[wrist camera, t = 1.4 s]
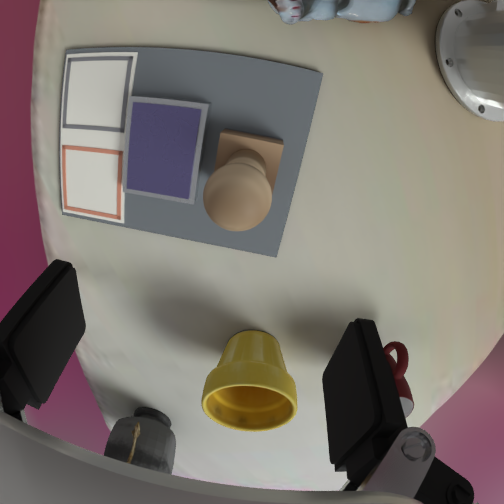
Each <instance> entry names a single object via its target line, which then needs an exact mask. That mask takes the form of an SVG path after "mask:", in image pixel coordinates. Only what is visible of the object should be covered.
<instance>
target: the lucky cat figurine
mask: <svg viewBox="0 0 504 504" xmlns="http://www.w3.org/2000/svg"><path fill="white" fill-rule="evenodd" d="M268 2H269V4H270V6H271V8H272V9H273V10H274V11H275V12H276V13H277V14H279V15H280V17H281V19H282V21H283V22H284V23H286V24H294V23H296V22H297V21H310V20H311V19H316V20H330V19H333V18H334V17H338V18H345V19H347V20H349V21H354V22H359V23H370V22H383V21H389V20H391V19H392V18H393V17H394V16H395V15H396V14H397V13H400V14H402V15H404V16H408V15H409V14H412V9H413V6H414V4H415V2H416V0H268Z"/></svg>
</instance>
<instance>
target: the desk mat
mask: <svg viewBox="0 0 504 504" xmlns="http://www.w3.org/2000/svg"><path fill="white" fill-rule="evenodd" d="M100 52H138V55H137V62H136V68H135V75H134V82H133V90H132V96H133V95H144V96H156V97H167V98H176V99H185V100H193V101H200V102H208V103H212V105H211V111H210V116H209V122H208V128H207V135H206V141H205V148H204V154H203V161H202V168H201V175H200V182H199V189H198V197H197V200H196V202H195V204H194V205H193V204H188V203H182V202H177V201H171V200H166V199H160V198H154V197H149V196H143V195H137V194H131V193H125V200H124V224H123V223H118V222H113V221H108V220H103V219H98V218H92V217H87V216H82V215H77V214H72V213H67V212H63V205H62V189H61V111H62V96H63V84H64V74H65V65H66V57H67V54H79V53H100ZM322 76H323V73H320V72H316V71H312V70H308V69H304V68H300V67H296V66H291V65H287V64H282V63H277V62H272V61H267V60H262V59H256V58H250V57H244V56H238V55H231V54H224V53H216V52H207V51H198V50H187V49H173V48H153V47H103V48H83V49H70V50H66V56H65V63H64V72H63V82H62V94H61V109H60V137H59V161H60V190H61V205H62V215H67V216H72V217H77V218H82V219H87V220H92V221H97V222H102V223H107V224H112V225H117V226H122V227H127V228H132V229H137V230H142V231H147V232H152V233H157V234H162V235H167V236H172V237H177V238H182V239H187V240H192V241H197V242H202V243H207V244H212V245H217V246H222V247H227V248H232V249H237V250H242V251H247V252H252V253H257V254H262V255H267V256H272V257H277V253H278V250H279V246H280V242H281V239H282V235H283V231H284V227H285V224H286V220H287V216H288V212H289V209H290V205H291V201H292V197H293V193H294V189H295V186H296V182H297V178H298V174H299V170H300V166H301V162H302V158H303V154H304V150H305V146H306V142H307V138H308V134H309V130H310V126H311V122H312V118H313V114H314V110H315V106H316V102H317V98H318V93H319V89H320V85H321V81H322ZM225 128H227V129H233V130H239V131H244V132H249V133H254V134H259V135H264V136H269V137H274V138H279V139H283V142H284V147H283V151H282V156H281V160H280V164H279V168H278V173H277V177H276V181H275V186H274V190H273V194H272V203H271V207H270V210H269V212H268V214H267V215H266V217H265V218H264V220H263V221H262V222H261V223H259V224H258V225H257V226H255V227H253V228H251V229H249V230H245V231H230V230H226V229H223V228H221V227H220V226H218V225H217V224H215V223H214V222H213V221H212V220H211V219H210V217H209V216H208V214H207V212H206V210H205V207H204V203H203V191H204V187H205V184H206V182H207V180H208V178H209V177H210V176H211V175H212V174H213V173H214V169H215V163H216V156H217V150H218V144H219V139H220V133H221V132H222V131H223V130H224V129H225Z"/></svg>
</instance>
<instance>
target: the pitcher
mask: <svg viewBox="0 0 504 504" xmlns="http://www.w3.org/2000/svg"><path fill="white" fill-rule="evenodd" d="M170 426H171V422H170V419H169V418H168V417H167V416H166V415H165V414H163V413H161V412H159V411H157V410H154V409H150V408H138V409H137V410H136V411H135V413H134V417H126V418H122V419H119V420H118V421H117V422H116V424H115V425H114V427H113V429H112V431H111V433H110V436H109V438H108V441H107V445H106V448H105V452H104V456H106V457H109V458H112V459H115V460H118V461H122V462H125V463H128V464H132V465H135V466H139V467H142V468H146V469H150V470H154V471H158V472H162V473H166V474H170V475H171V474H172V469H173V464H174V457H175V449H176V439H175V435H174V433H173V432H172V430H171V429H170Z"/></svg>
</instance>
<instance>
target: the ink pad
mask: <svg viewBox="0 0 504 504" xmlns="http://www.w3.org/2000/svg"><path fill="white" fill-rule="evenodd" d="M211 105H212V103H208V102H200V101H193V100H185V99H176V98H167V97H156V96H144V95H133V96H129V104H128V113H127V124H126V136H125V150H124V167H123V192H125V193H131V194H137V195H143V196H149V197H154V198H160V199H166V200H171V201H177V202H182V203H188V204H193V205H194V204H195V202H196V200H197V197H198V189H199V182H200V175H201V168H202V161H203V154H204V148H205V141H206V135H207V128H208V122H209V116H210V111H211Z"/></svg>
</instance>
